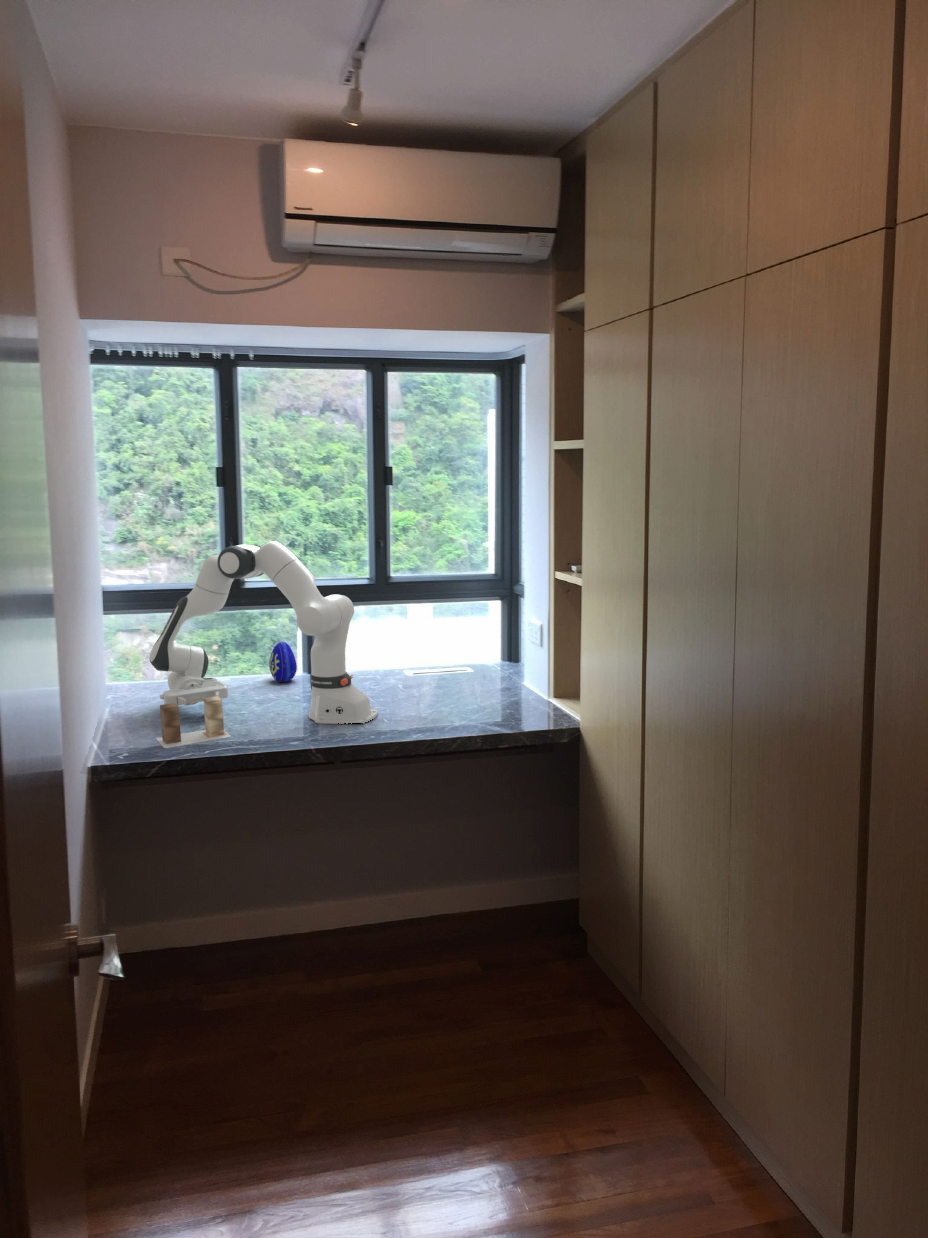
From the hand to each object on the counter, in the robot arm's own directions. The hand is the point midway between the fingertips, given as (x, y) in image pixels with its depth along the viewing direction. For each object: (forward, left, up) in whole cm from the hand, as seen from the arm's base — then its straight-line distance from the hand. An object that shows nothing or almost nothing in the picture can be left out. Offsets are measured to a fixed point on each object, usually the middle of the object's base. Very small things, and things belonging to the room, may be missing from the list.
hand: (202, 700), depth 298 cm
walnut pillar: (0, +18, -7) cm, 19 cm away
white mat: (-5, +13, -8) cm, 16 cm away
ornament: (0, -55, -8) cm, 56 cm away
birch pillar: (-9, +8, -7) cm, 14 cm away
